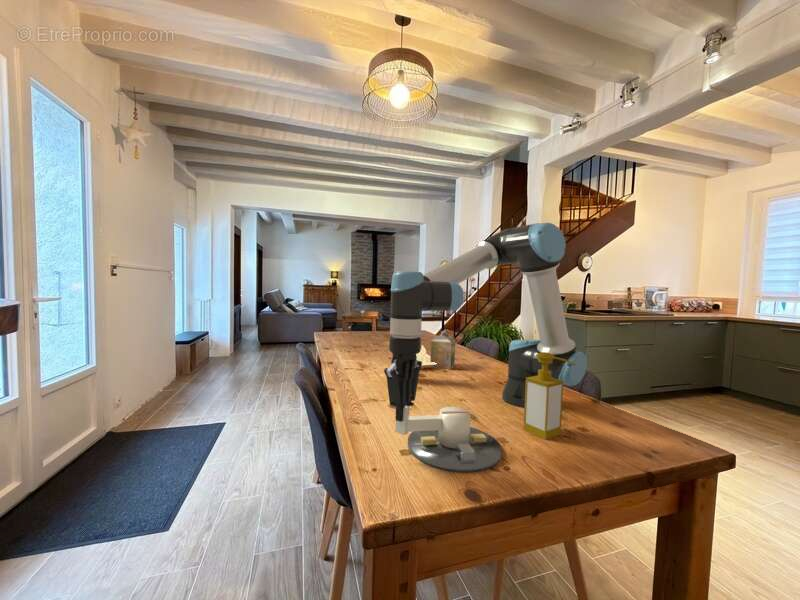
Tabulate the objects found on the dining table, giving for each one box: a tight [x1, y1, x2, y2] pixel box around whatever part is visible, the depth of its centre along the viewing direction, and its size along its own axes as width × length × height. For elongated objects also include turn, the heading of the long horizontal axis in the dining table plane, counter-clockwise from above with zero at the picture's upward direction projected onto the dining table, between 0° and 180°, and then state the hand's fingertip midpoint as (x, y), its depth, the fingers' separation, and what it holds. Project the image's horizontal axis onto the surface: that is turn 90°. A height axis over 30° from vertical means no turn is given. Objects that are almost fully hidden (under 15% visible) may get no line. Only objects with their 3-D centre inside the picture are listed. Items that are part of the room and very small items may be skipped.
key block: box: [408, 406, 487, 449], centre depth 85 cm, size 22×8×8 cm, turn 100°
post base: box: [407, 426, 503, 473], centre depth 85 cm, size 24×24×4 cm
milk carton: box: [429, 329, 456, 371], centre depth 172 cm, size 11×11×19 cm
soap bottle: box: [522, 352, 576, 441], centre depth 93 cm, size 7×13×24 cm, turn 32°
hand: (401, 432), depth 79 cm, fingers closed
